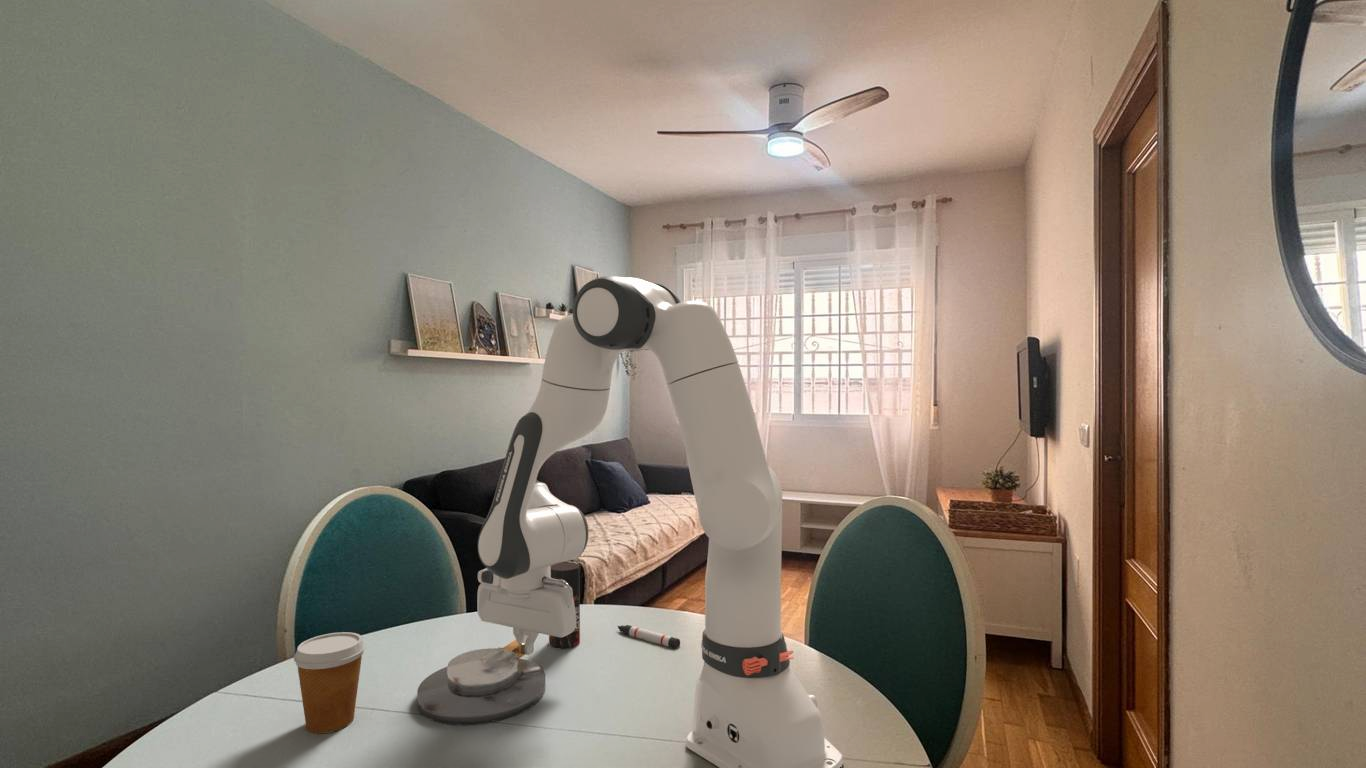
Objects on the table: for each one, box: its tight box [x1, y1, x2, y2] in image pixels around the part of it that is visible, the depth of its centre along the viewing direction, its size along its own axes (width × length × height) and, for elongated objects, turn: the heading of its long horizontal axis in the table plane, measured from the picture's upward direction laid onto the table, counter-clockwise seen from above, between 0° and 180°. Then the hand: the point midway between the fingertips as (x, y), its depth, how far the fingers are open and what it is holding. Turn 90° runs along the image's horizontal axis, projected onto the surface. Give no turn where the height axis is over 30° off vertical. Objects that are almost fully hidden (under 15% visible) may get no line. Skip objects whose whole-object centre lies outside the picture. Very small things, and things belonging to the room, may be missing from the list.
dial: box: [446, 639, 526, 696], centre depth 112 cm, size 18×11×3 cm, turn 160°
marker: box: [617, 624, 681, 649], centre depth 132 cm, size 15×2×2 cm, turn 54°
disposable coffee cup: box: [293, 631, 367, 734], centre depth 99 cm, size 10×10×12 cm
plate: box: [416, 658, 546, 726], centre depth 109 cm, size 20×20×2 cm
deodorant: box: [548, 562, 581, 650], centre depth 130 cm, size 6×6×15 cm
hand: (526, 653), depth 117 cm, fingers closed
